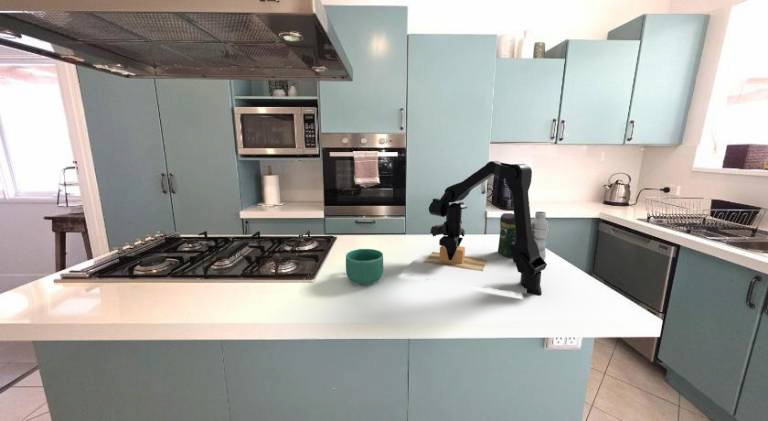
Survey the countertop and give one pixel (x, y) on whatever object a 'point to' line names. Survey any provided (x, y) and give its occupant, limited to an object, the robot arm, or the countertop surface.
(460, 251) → the block
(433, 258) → the oak board
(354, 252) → the mug
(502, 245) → the coffee jar
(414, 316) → the countertop surface
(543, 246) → the plastic bottle
